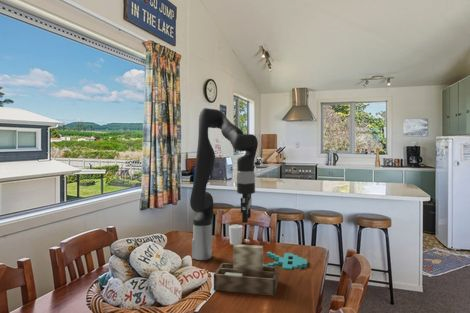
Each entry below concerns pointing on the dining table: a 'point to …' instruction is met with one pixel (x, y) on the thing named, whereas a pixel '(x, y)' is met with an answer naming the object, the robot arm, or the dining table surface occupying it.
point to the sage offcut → (234, 274)
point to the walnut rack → (246, 280)
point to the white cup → (235, 234)
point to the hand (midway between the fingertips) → (246, 220)
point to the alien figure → (287, 261)
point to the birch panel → (248, 257)
